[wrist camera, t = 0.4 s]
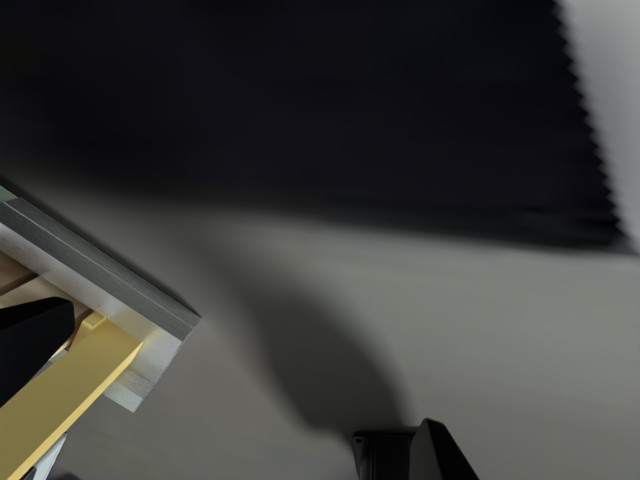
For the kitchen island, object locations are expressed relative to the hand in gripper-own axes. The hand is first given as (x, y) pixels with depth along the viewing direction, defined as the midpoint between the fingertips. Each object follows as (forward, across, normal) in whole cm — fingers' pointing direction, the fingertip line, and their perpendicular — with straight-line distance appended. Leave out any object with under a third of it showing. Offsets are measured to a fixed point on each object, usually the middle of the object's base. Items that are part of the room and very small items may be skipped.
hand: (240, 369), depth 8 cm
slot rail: (+13, +16, +13) cm, 25 cm away
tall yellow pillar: (+12, +13, +14) cm, 23 cm away
